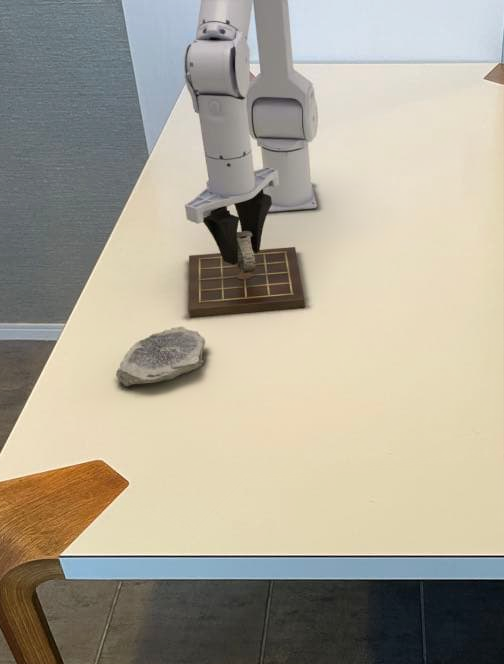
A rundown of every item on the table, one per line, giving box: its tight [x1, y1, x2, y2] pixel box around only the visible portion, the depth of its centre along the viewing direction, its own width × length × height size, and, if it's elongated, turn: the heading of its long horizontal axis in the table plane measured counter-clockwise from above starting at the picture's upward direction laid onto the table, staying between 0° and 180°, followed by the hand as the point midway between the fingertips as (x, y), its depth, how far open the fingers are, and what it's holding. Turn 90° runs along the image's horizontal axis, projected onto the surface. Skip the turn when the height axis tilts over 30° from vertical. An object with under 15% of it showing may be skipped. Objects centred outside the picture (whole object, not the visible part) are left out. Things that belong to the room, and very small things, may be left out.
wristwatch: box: [237, 231, 255, 274], centre depth 112 cm, size 4×6×5 cm, turn 22°
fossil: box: [115, 326, 206, 387], centre depth 101 cm, size 11×4×10 cm
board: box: [187, 246, 306, 318], centre depth 116 cm, size 15×15×1 cm
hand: (241, 255), depth 114 cm, fingers closed on wristwatch, 3 cm apart
